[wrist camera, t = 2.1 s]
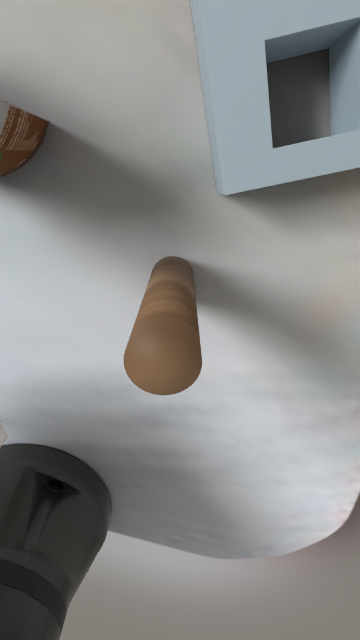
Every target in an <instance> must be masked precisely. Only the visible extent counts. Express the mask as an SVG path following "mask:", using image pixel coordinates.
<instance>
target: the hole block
mask: <svg viewBox="0 0 360 640" xmlns="http://www.w3.org/2000/svg"><path fill="white" fill-rule="evenodd" d="M190 4H191V11H192V19H193V26H194V33H195V40H196V47H197V54H198V61H199V68H200V75H201V82H202V89H203V96H204V103H205V110H206V117H207V125H208V132H209V139H210V146H211V153H212V160H213V167H214V174H215V181H216V188H217V193H219V194H222V195H229V194H234V193H238V192H243V191H248V190H253V189H258V188H263V187H267V186H272V185H277V184H282V183H287V182H292V181H296V180H301V179H306V178H311V177H316V176H321V175H325V174H330V173H335V172H340V171H345V170H350V169H354V168H359V167H360V0H190ZM325 49H329V90H330V136H328V137H324V138H319V139H314V140H310V141H305V142H301V143H296V144H291V145H287V146H282V147H277V148H273V146H272V132H271V119H270V106H269V93H268V80H267V66H266V63H271V62H275V61H279V60H283V59H287V58H292V57H296V56H300V55H304V54H308V53H313V52H317V51H321V50H325Z"/></svg>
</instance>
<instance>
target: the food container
mask: <svg viewBox="0 0 360 640" xmlns="http://www.w3.org/2000/svg"><path fill="white" fill-rule="evenodd" d="M48 123H49V121H47V120H45V119H42V118H40V117H38V116H36V115H34V114H31V113H29V112H27V111H25V110H23V109H20V108H18V107H16V106H14V105H12V104H9V103H7V102H5V101H3V100H0V176H3V175H6V174H9V173H11V172H13V171H16V170H17V169H19V168H20V167H22V166H23V165H24V164H25V163H27V162H28V161H29V160H30V159H31V158H32V157H33V155H34V154H35V152H36V151H37V150H38V148H39V147H40V145H41V142H42V140H43V138H44V136H45V133H46V130H47V126H48Z"/></svg>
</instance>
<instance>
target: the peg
mask: <svg viewBox="0 0 360 640" xmlns="http://www.w3.org/2000/svg"><path fill="white" fill-rule="evenodd" d="M124 366H125V370H126V373H127V375H128V376H129V378H130V379H131V381H132V382H133V383H134V384H135V385H137V386H138V387H139V388H141V389H142V390H144V391H146V392H149V393H152V394H157V395H171V394H176V393H179V392H181V391H183V390H185V389H187V388H188V387H189V386H191V385H192V384H193V383H194V382H195V380H196V379H197V378H198V376H199V374H200V371H201V367H202V356H201V346H200V337H199V327H198V317H197V307H196V298H195V288H194V278H193V271H192V269H191V267H190V265H189V264H188V263H187V262H186V261H185V260H183V259H181V258H179V257H166V258H163V259H161V260H160V261H159V262H158V263H157V264H156V265H155V266H154V268H153V271H152V274H151V277H150V280H149V283H148V286H147V289H146V291H145V294H144V297H143V300H142V303H141V306H140V309H139V312H138V315H137V318H136V321H135V324H134V327H133V330H132V333H131V336H130V339H129V341H128V344H127V347H126V350H125V354H124Z"/></svg>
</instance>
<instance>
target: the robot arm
mask: <svg viewBox="0 0 360 640" xmlns="http://www.w3.org/2000/svg"><path fill="white" fill-rule="evenodd" d="M7 437H8V435H7V433H6V431H5V429H4V427H3V425H2V424H1V422H0V640H59V639H60V635H61V631H62V628H63V624H64V620H65V617H66V613H67V610H68V607H69V604H70V602H71V600H72V598H73V597H74V595H75V593H76V591H77V589H78V588H79V586H80V584H81V582H82V580H83V579H84V577H85V575H86V573H87V572H88V570H89V568H90V566H91V564H92V563H93V561H94V559H95V557H96V555H97V553H98V552H99V550H100V548H101V547H102V545H103V543H104V540H105V538H106V535H107V531H108V526H109V522H110V517H111V512H112V503H111V498H110V495H109V492H108V490H107V488H106V486H105V484H104V483H103V481H102V480H101V479H100V477H99V476H98V475H97V474H96V473H95V472H94V471H93V470H92V469H91V468H89V467H88V466H87V465H85V464H84V463H83V462H81V461H79V460H78V459H76V458H74V457H72V456H70V455H68V454H66V453H64V452H61V451H58V450H55V449H52V448H48V447H44V446H38V445H30V444H11V445H4V446H2V444H3V443H4V441H5V440H6V439H7Z"/></svg>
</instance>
